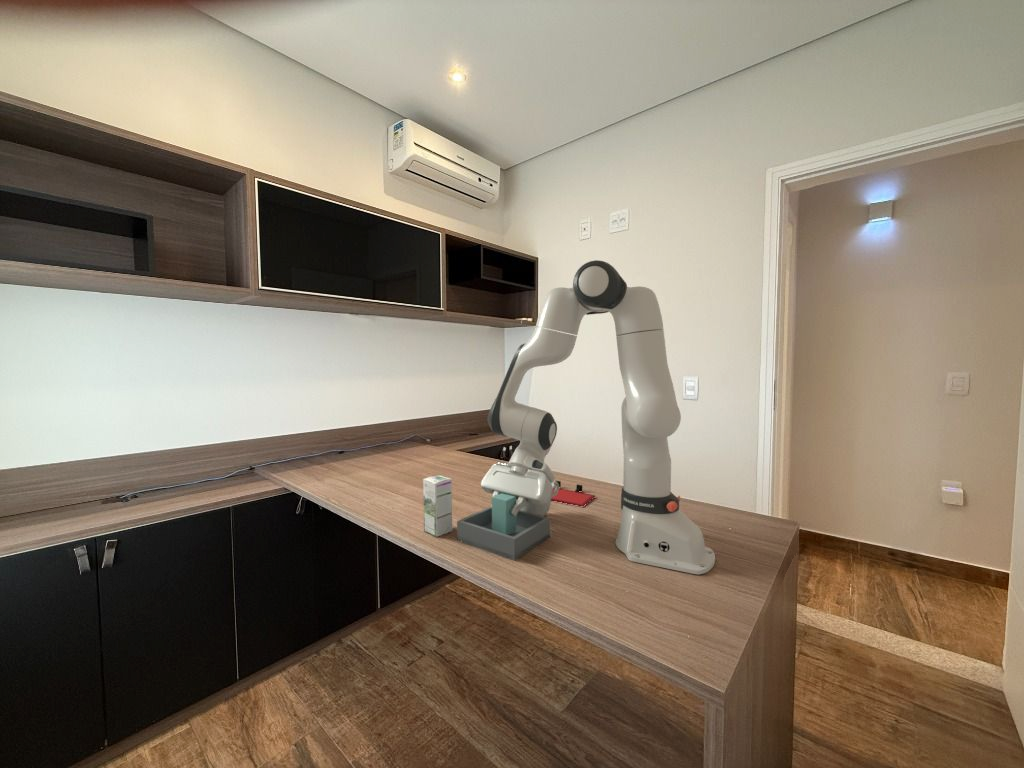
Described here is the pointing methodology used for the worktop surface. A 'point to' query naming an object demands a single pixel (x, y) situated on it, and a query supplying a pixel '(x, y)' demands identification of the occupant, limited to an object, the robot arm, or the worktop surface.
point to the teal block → (503, 513)
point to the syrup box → (437, 505)
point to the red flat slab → (572, 496)
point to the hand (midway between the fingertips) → (502, 512)
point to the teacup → (541, 509)
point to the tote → (509, 546)
